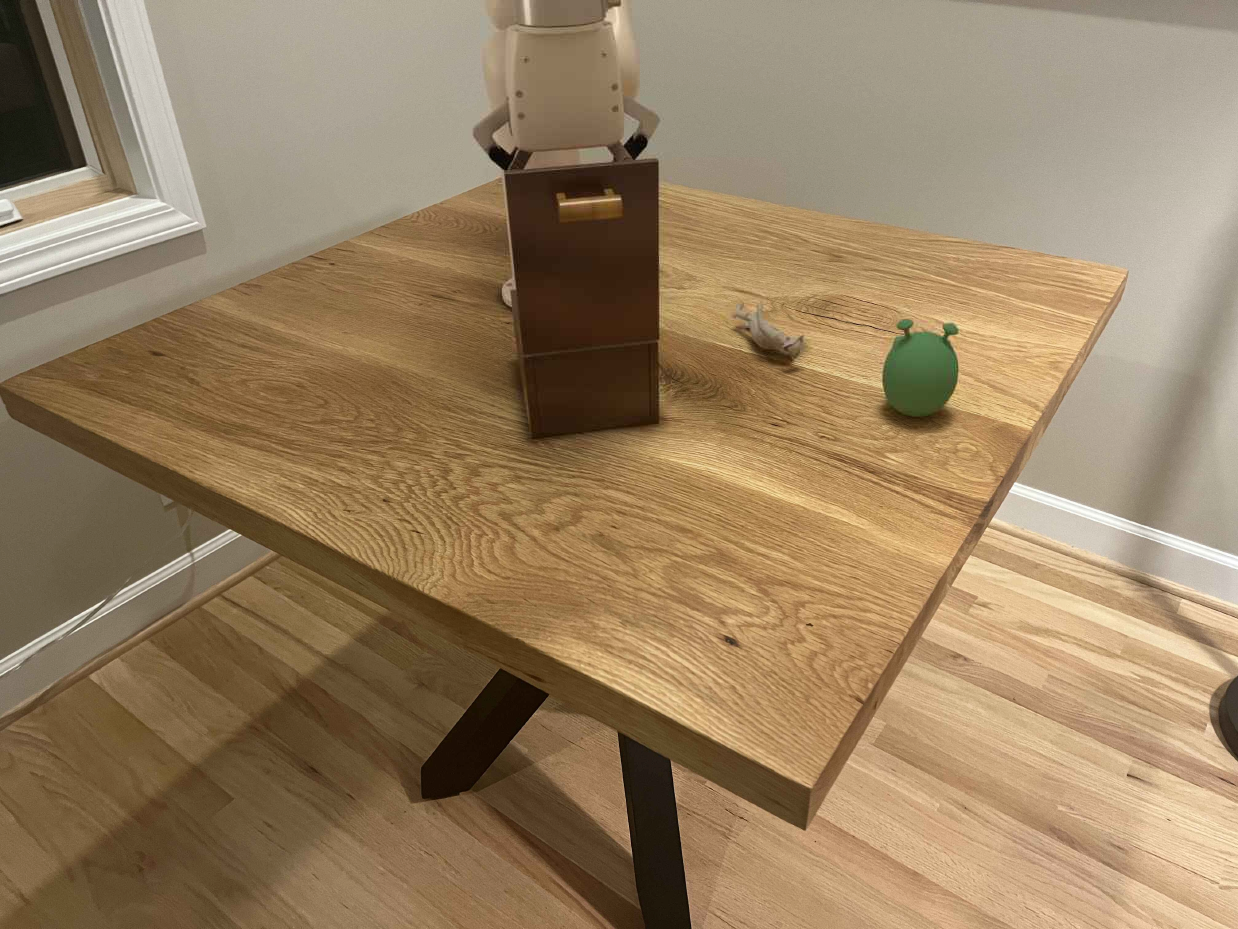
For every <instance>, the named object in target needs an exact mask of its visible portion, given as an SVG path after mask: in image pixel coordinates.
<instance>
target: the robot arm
mask: <svg viewBox="0 0 1238 929" xmlns="http://www.w3.org/2000/svg"><path fill="white" fill-rule="evenodd" d="M483 1H484V5H485V9H486V12H487V15H488V18H489V19H490V22H491V23H492V24H493V26H494V27H495V28H496V29H497V30H498V31H497V32H495V33H493V34H492V35H491V36H489V38H488V39H487V40H486V42H485V43H484V45H483V48H482V52H481V71H482V74H483V75H482V77H483V80H484V84H485V89H486V94H487V98H488V102H489V106H490V109H491V113H489V114H488V115H487V116H485V117H484V118H483V119H482V120H481V121H480V122H478V123H477V124H475V125H474V126H473V128H472V130H471V131H472V136H473V139H474V140H475V141H476V142H477V144H478V145H479V146H480V147H481V149H482V150H483V151H484V152H485V153H486V155H487V156H488V157H489V159H490V161H492V162H493V163H494V164H495V165H497V166H498V167H499V168H500V172H501V181H502V188H503V189H502V190H503V200H504V208H505V209H504V210H505V218H506V228H507V229H506V230H507V237H508V244H509V245H508V248H509V256H510V258H509V259H510V267H511V275H512V277H511V278H509V279H507V281H506V282H505V283H504V284H503V285H502V288H501V296H502V300H503V302H504V303H505V304H506V305H507V306H508V307H510V308H511V309H512V302H511V293H510V290H516V285H515V276H514V266H513V256H512V247H511V237H510V227H509V218H508V208H507V198H506V189H505V179H504V171H510V170H522V169H534V168H545V167H557V166H569V165H581V164H582V161H581V160H582V159H581V155H580V151H579V150H582V149H593V148H594V149H595V148H603V147H606V148H607V149H608V151H609V152H610V153H611V155H612V156H613V157H612V160H611V162H616V161H628V160H637V158H638V157H639V156H640V155H641V153H643V151H644V150H645V149H646V148H647V146H648V144H649V141H650V139H651V138H652V137H653V134H654V133H655V131H656V129H657V128H658V126H659V124H660V122H661V121H660V120H661V118H660V117H659V115H658V114H657V113H656V112H655V111H654V110H652V109H650V108H648V107H647V106H646V105H643V104H641V103H640V102H638V101H636V100H635V99H636V98H637V95H638V93H639V89H640V82H641V81H640V80H641V75H640V71H641V70H640V61H639V54H638V48H637V43H636V38H635V34H634V29H633V25H632V19H631V15H630V9H629V6H628V1H627V0H483ZM625 114H626V115H628V116H629V117H632V118H633V119H635V120H637V121H638V122H639V123H638V125H637V128H636V130H635V132H633V134H632V135H631V136H630V137H629V138H628V139H627V140H626V142H625V143H624V144H623V143H622V142H621V140H622V139H623V137H624V134H625ZM494 134H496V140H497V141H496V140H495V138H494V137H493V136H494Z"/></svg>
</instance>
